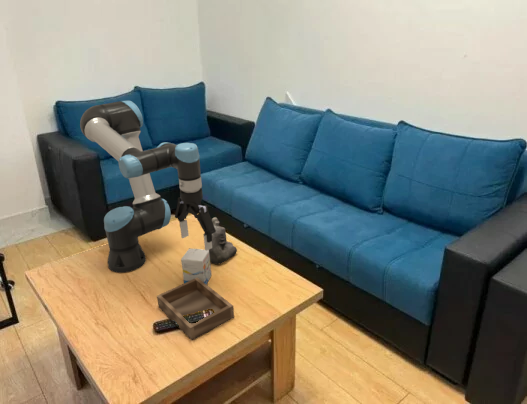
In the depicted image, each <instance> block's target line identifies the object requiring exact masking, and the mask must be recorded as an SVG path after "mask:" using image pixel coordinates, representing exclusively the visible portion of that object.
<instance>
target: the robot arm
mask: <svg viewBox="0 0 527 404" xmlns="http://www.w3.org/2000/svg"><path fill="white" fill-rule="evenodd" d="M143 120H144V119H143V115H142V112H141V110H140V109H139V107H138V106H137V104H136V103H134V102H133V101H131V100H119V101H113V102H109V103H103V104H97V105H93V106H91V107H89V108H87V109H86V110H85V111H84V112H83V113H82V115H81V117H80V122H79V123H80V124H79V126H80V130H81V133H82V134H83V135H84V137H86V139H88V140H89V141H91V142H92V143H96V144H98V146H100V147H101V148H102V149H103V150H104V151H106V152H107V153H108V154H109V155H110V156H112V157H113V158H114V159H115V160H116V161H117V162H118V168H119V171H120V173H121V175H122V176H123V177H124V178H125V179H128V180H129V184H130V187H131V190H132V194H133V196H134V200H133V202H132V206H133V207H131V206H127V205H123V206H119V207H118V206H117V207H116V208H112V209H111V210H110V211H108V212H107V213H106V214H105V216H104V218H103V223H104V224H103V225H104V230H105V235H106V238H107V239H106V240H107V244H108V249H109V250H108V251H109V252H108V257H107V265H108V266H107V267H108V269H109V270H110V271H111V272H114V273H119V274H121V273H130V272H133V271H137V270H138V269H140V268H142V267H143V266H144V265H145V264H146V263H147V256H146V253H145V251H144V249H143V248H142V246H141V245H140V242H139V237H141V236H144V235H147V234H149V233H152V232H154V231H158V230H161V229H162V228H165V227H166V226H168V225H169V224H170V222H171V219H172V217H171V216H172V213H171V208H170V205H169V203H168V201H167V200H166V199H164V198H162V197H161V195H160V194H159V193H156V190H155V187H154V183H153V180H152V176H151V174H150V173H155V172H158V171H162V170H165V169H168V168H174V169H175V170H176V171H177V177H178V184H179V196H180V197H178V198H177V205H176V210H175V215H174V218H175V219H177V221H178V222H179V228H180V235H181V238H182V239H185V238H186V237H189V234H190V233H189V227H188V220H187V217H188V215H189V214H191V215H193V216H194V218H195V219H197V222H198V224H199V225H200V227H201V228H202V230H203V241H204V242H203V244H204V250H205V251H207V250H209V249H211V248H212V234H213V233H215V232H216V230H215V227H214V225H213V222H212V218H211V215H210V212H209V208H208V205H207V204H205V205H202V203H201V201H202V200H203V197H204V196H203V188H202V187H203V184H202V175H201V174H202V173H201V163H200V153H199V147H198V146H197V144H196V143H193V142H183V143H179V144H175V143H173V142H172V143H171V142H168V141H167V142H161V143H160V144H159V145H157V147H155V148H151V149H147V150H146V149H145V150H143V147H142V145H141V141H140V140H141V139H140V138H139V136H140V134H141V132H142V131H141V128H142V127H143V126H144V121H143Z"/></svg>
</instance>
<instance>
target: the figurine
mask: <svg viewBox="0 0 527 404" xmlns="http://www.w3.org/2000/svg"><path fill="white" fill-rule="evenodd" d="M211 220H212V222H213V225H214V227H215V230H216V232H215V233H213V234H212V248H211V249H209V256H210V264H212V265H221V264H223V263H225V262H226V261H228V260H229V259H231V258H232V257H234V256H236V255H237V252H238V249H237V247H236V246H235V245H234V244H233V242H231V241H228V240H227V233H226V228H225V227H223V226H220V221H219V219H218V218H217V217H216V216H215V217H213V218H211Z"/></svg>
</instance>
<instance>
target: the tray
mask: <svg viewBox="0 0 527 404" xmlns="http://www.w3.org/2000/svg"><path fill="white" fill-rule="evenodd" d="M156 298H157V306H158V309H160V310H161V311H162V313H164V315H166V317H167V318H168V319H169V320H171V319H173V320H175V321H176V322H177V324H178V325H179V327H178V329H180V331H182V332H183V334H184V335H185V336H187V338H188V339H189V340H190V341H192V342H193V341H194V340H196V339H198V338H200V337H202V336H203V335H206V334H208V333H209V332H211V331H213V330H215V329H216V328H218V327H220V326H221V325H224V324H225V323H228V322H229V321H231V320H233V319H235V313H234V312H235V311H234V305H233V304H232V303H231V302H229V301H228V300H226V298H224V297H223V296H222V295H220V293H218V292H216V291H215V290H214V289H213V288H211V286H209V285H208V284H207V285H206V284H205V283H204V282H203V281H201V280H200V279H199V278H195V279H193V280H190V281H188V282H186V283H184V282H183V283H182V284H179V285H178V286H175V287H173V288H170V289H169V290H166V291H164V292H162V293H160V294H158V295H156ZM207 309H213V310H214V312H215V313H213V314H211V315H209V316H207V317H205V318H203V319H201V320H199V321H198V322H196V323H189V322H188V321H187V320H186V319H185V318H184V317H183V315H187V314H191V313H195V312H198V311H203V310H207Z"/></svg>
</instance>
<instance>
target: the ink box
mask: <svg viewBox="0 0 527 404" xmlns="http://www.w3.org/2000/svg"><path fill="white" fill-rule="evenodd" d="M180 261H181V262H180V264H181V269H182V278H183V284H184V283H186V282H188V281H190V280H193V279H195V278H199V279H200V280H201V281H203V282H204V283H205V284H206V285H208V282H209V281H210V280H211V277H212V267H211V263H210V256H209V250H207V251H205V248H203V249H202V248H188V250H186V252H185V253H184V255H183V256H182V257H181V259H180Z"/></svg>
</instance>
